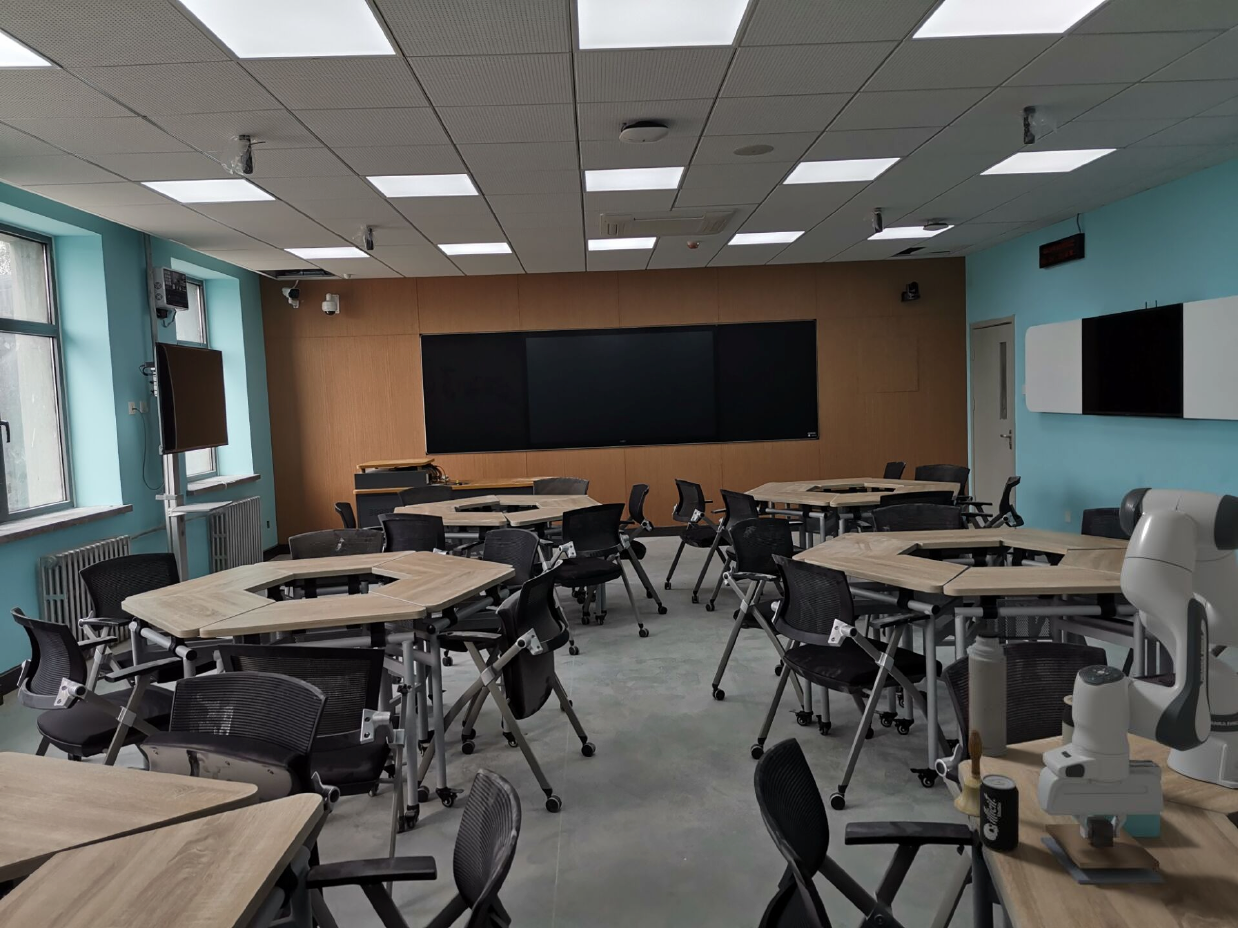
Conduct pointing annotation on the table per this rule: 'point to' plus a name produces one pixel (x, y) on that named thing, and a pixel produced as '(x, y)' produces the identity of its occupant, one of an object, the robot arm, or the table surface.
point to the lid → (1101, 846)
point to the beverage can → (999, 812)
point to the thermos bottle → (988, 692)
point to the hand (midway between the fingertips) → (1099, 836)
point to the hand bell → (972, 780)
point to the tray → (1100, 869)
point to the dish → (1138, 824)
